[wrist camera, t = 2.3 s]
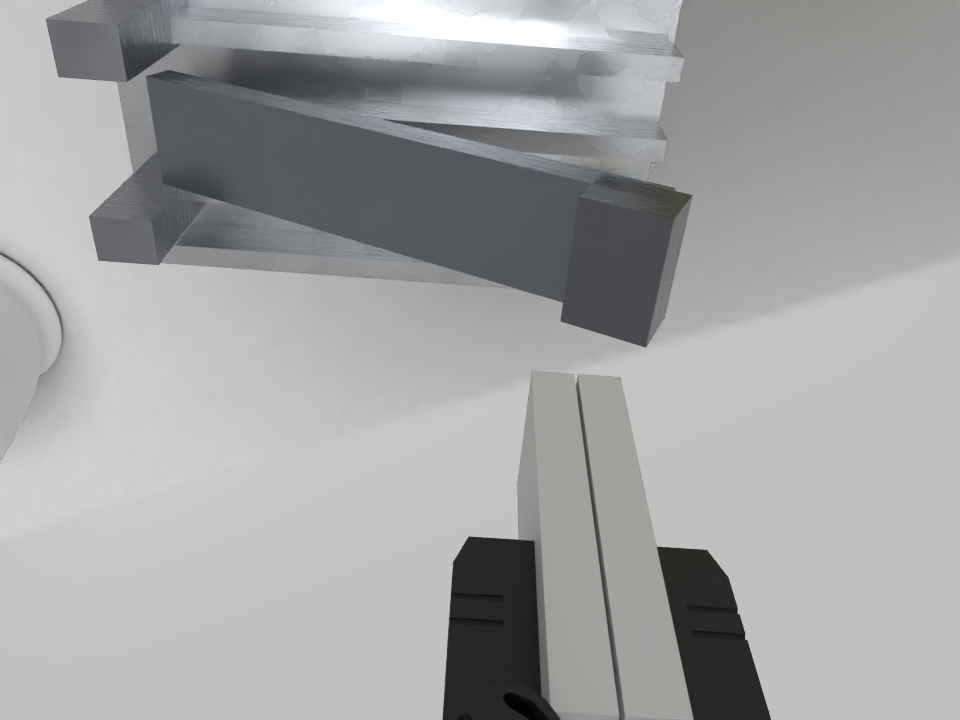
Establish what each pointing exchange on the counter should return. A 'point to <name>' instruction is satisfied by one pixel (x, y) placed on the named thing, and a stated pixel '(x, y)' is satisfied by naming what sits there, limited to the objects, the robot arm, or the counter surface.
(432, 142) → the dark grey flat bar
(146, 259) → the heatsink block
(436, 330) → the counter surface
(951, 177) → the counter surface
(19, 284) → the jar
